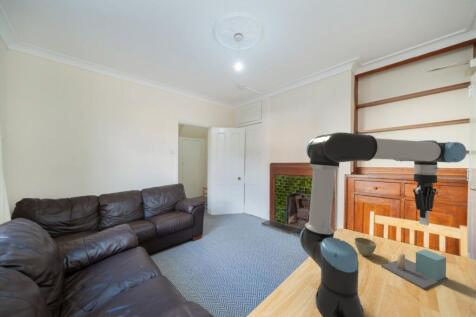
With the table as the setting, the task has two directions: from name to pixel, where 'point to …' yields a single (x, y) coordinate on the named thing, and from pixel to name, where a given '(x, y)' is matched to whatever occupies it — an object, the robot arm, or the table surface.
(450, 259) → the table surface
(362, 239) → the grey brown bowl
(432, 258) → the pale blue block
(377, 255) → the table surface
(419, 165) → the robot arm
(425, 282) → the stand
